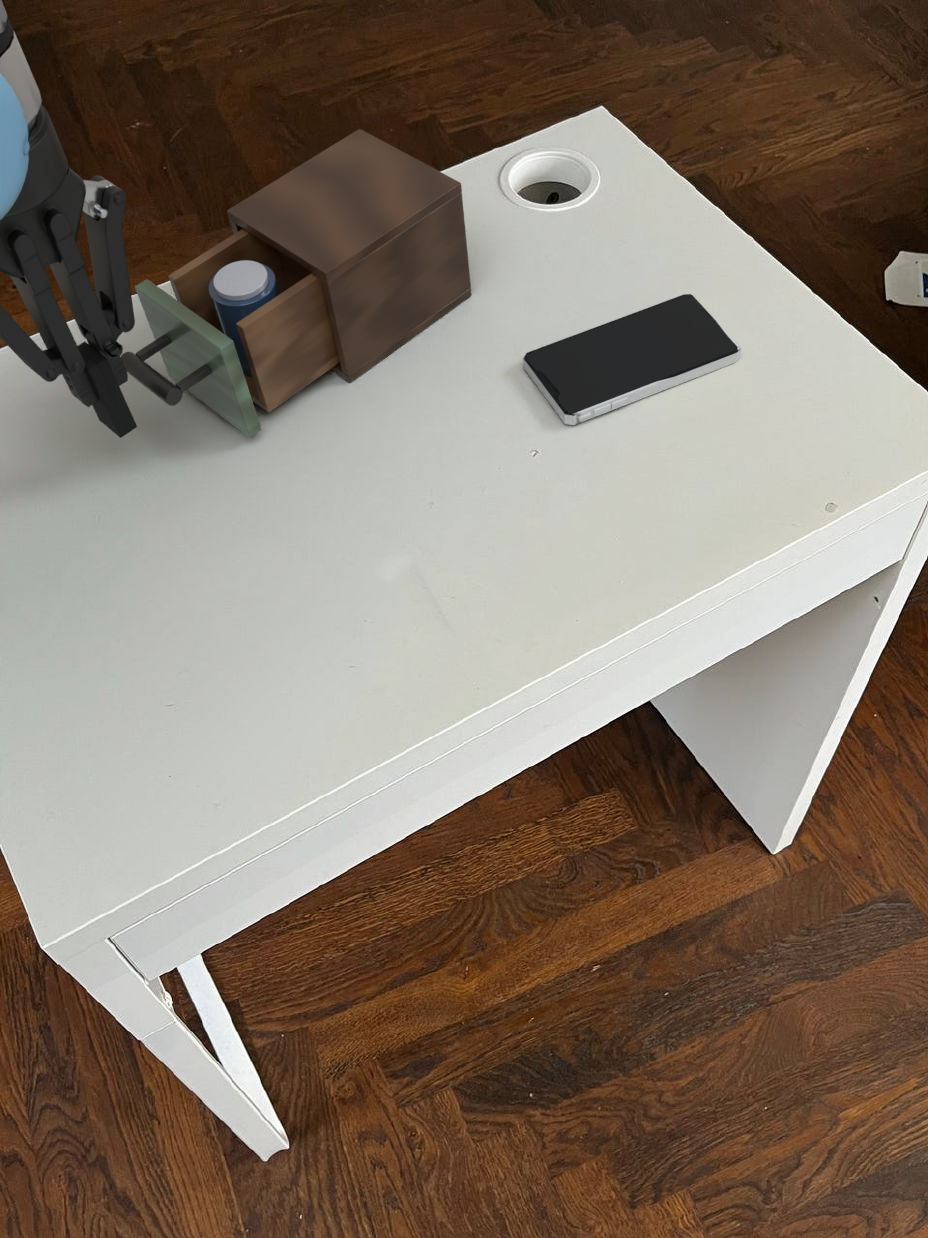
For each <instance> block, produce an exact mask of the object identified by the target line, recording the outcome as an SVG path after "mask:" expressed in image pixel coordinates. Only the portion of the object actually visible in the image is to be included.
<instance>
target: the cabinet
mask: <svg viewBox="0 0 928 1238" xmlns="http://www.w3.org/2000/svg"><path fill="white" fill-rule="evenodd" d="M462 191H463V189H462V182H460V181H458V180H456V179H454V178H453V177H451V176H449V175H447V174H445V173H443V172H441V171H439V170H437V169H436V168H435V167H432V166H430V165H428V164H426V163H425V162H423V161H421V160H419V159H417V158H415V157H413V156H411V155H410V154H408V153H406V152H404V151H402V150H400V149H399V148H396V147H395V146H392V145H391V144H389V143H387V142H385V141H384V140H381V138H378V137H376V136H374V135H372V134H370V133H369V132H366V131H365V130H363V129H360V128H358V129H357V130H355V131H353V132H352V133H350V134H349V135H347V136H346V137H344V138H342V139H341V140H339V141H337V142H336V143H334V144H332V145H331V146H329V147H328V148H326V149H324V150H322V151H321V152H319V153H318V154H316V155H315V156H313V157H311V158H310V159H308V160H306V161H304V163H302V164H300V165H298V166H296V167H294V168H293V169H291V170H290V171H289V172H287V173H286V174H284V175H282V176H281V177H279V178H277V179H276V180H274V181H272V182H271V183H269V184H268V185H266V186H264V187H263V188H261V189H260V190H258V191H257V192H255V193H253V194H251V195H250V196H248V197H247V198H245V199H243V200H242V201H240V202H239V203H237V204H235V205H234V206H231V207H230V208H229V209H227V210H226V214H227V216H228V220H229V223H230V226H231V227H230V228H231V230H232V233H233V234H232V235H234V234H235V233H237V232H239V231H240V230H242V229H245V230H247V231H248V232H250V233H251V234H253V235H254V236H256V237H257V238H259V239H261V240H262V241H264V242H265V243H267V244H268V245H270V246H272V247H273V248H275V249H276V250H278V251H279V252H281V253H283V254H284V255H286V256H287V257H289V258H290V259H292V260H293V261H295V262H297V263H298V264H300V265H301V266H303V267H304V268H306V269H308V270H309V271H311V272H312V273H314V274H315V275H317V276H319V277H320V278H321V281H322V285H323V289H324V294H325V298H326V303H327V307H328V312H329V316H330V320H331V325H332V329H333V334H334V338H335V343H336V347H337V351H338V356H339V360H340V362H339V363H338V364H337V365H335V366H334V367H332V368H331V369H330V370H329V371H331V372H333V373H334V374H335V375H337V376H338V377H339V378H342V380H344V381H346V382H347V383H349V384H352V383H353V382H354V381H356V380H358V379H359V378H360V377H361V376H362V375H364V374H365V373H366V372H368V371H369V370H371V369H372V368H373V367H375V366H377V365H378V364H380V362H382V361H383V360H385V359H386V358H388V356H390V355H392V354H393V353H395V352H396V351H397V350H398V349H400V348H401V347H403V346H404V345H406V344H407V343H408V342H410V341H411V340H412V339H414V338H415V337H416V336H418V335H419V334H421V333H423V331H425V330H426V329H428V328H429V327H430V326H432V325H433V324H434V323H436V322H437V321H439V320H440V319H441V318H443V317H444V316H445V315H447V314H449V312H451V311H452V310H454V309H456V308H457V307H458V306H460V305H461V304H462V303H463V302H465V301H466V300H467V299H469V298H470V297H472V285H471V284H472V283H471V273H470V264H469V254H468V253H469V252H468V245H467V244H468V242H467V234H466V223H465V221H466V220H465V213H464V202H463V193H462Z"/></svg>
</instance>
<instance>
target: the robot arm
mask: <svg viewBox="0 0 928 1238" xmlns="http://www.w3.org/2000/svg"><path fill="white" fill-rule="evenodd" d="M42 102H43V99H42V95H41V91H40V89H39V86H38V84H37V81H36V79H35V77H34V75H33V72H32V70H31V67H30V64H29V63H28V61H27V58H26V55H25V53H24V51H23V49H22V46H21V44H20V42H19V39H18V37H17V34H16V32H15V30H14V28H13V25H12V24H11V21H10V19H9V17H8V13H7V11H6V8H5V6H4V3H3V0H0V273H2V274H4V275H6V276H9V277H10V279H11V280H12V281H13V283H14V285H15V287H16V289H17V291H18V293H19V295H20V297H21V299H22V301H23V304H24V305H25V307H26V309H27V311H28V314H29V315H30V317H31V319H32V321H33V323H34V326H35V328H36V330H37V331H38V333H39V336H40V338H41V340H42V342H43V344H44V345H45V348H46V349H42V348H41V347H40V346H39V345H38V344H37V343H36V342H35V340H33V338H31V336H30V335H28V333H27V332H26V331H25V330H24V329H23V328H22V327H21V326H20V325H19V324H18V322H17V321H16V320H15V319H14V318H13V317H12V316H11V315H10V314H9V313H8V312H7V310H6V309H5V308H4V307H3V306H2V305H1V304H0V340H2V341H3V343H5V344H6V346H7V347H9V349H11V351H12V352H13V353H14V355H16V356H17V357H18V358H19V359H20V360H21V361H22V362H23V363H24V364H25V365H26V366H27V367H28V368H29V369H31V370H32V371H34V372H35V373H36V374H37V375H38V376H39V377H40V378H41V379H43V380H44V381H45V382H47V383H51V382H54V381H56V380H57V379H58V377H59V376H62V377H63V379H64V381H65V383H66V385H67V388H68V389H69V391H70V393H71V395H72V396H73V397H74V398H76V399H77V400H78V401H79V402H80V403H82V404H83V405H84V406H86V407H87V408H90V407H91V406H92V408H93V410H94V412H95V414H96V416H97V418H98V420H99V422H101V423H102V424H103V425H104V426H105V427H107V428H108V429H109V430H110V431H111V432H113V433H114V434H115V435H116V436H117V437H119V439H122V438H124V436H126V435H128V434H129V433H130V432H132V431H133V430H135V429H136V428H138V425H137V423H136V421H135V418H134V416H133V414H132V412H131V410H130V407H129V404H128V403H127V400H126V399H125V396H124V394H123V392H122V389H121V386H122V385H123V384H124V385H125V383H127V382H128V377H129V376H128V375H129V373H127V371H126V369H125V367H124V364H123V362H122V360H121V358H120V357H121V355H122V354H123V353H124V352H123V351H124V346H123V345H122V344H121V343H119V342H118V339H119V337H120V336H121V335H122V334H123V333H129V332H131V331H133V329H134V327H135V325H136V319H135V313H134V311H135V310H134V305H133V297H132V289H131V282H130V276H129V267H128V261H127V254H126V246H125V239H124V231H123V224H124V223H123V222H124V217H125V212H126V206H127V200H128V199H127V198H128V197H127V194H126V193H127V192H125V191H124V190H123V189H121V188H120V187H118V186H117V185H115V184H113V183H112V182H111V181H110V180H108V179H106V178H105V177H103V176H102V175H94V176H92V177H91V179H90V180H87V179H82V177H81V176H80V175H79V174H78V173H76V172H75V171H74V170H73V169H72V168H71V167H70V166H69V163H68V158H67V156H66V154H65V151H64V148H63V146H62V144H61V141H60V139H59V136H58V133H57V131H56V129H55V127H54V124H53V121H52V119H51V116H50V114H49V112H48V110H47V108H46V107H45V106H44V105H43V104H42ZM83 212H84V222H85V223H84V225H85V229H86V235H87V241H88V247H89V248H88V249H89V254H90V261H91V267H92V274H93V280H94V285H95V289H94V287H93V285H92V283H91V282H92V281H91V280H90V278H89V276H88V273H87V271H86V269H85V266H86V261H85V260H84V257H83V255H82V252H81V250H80V248H79V246H78V243H77V241H78V236H79V230H80V225H81V221H82V216H83ZM48 267H50V270H51V272H52V274H53V276H54V278H55V280H56V283H57V284H58V287H59V289H60V291H61V293H62V295H63V298H64V300H65V302H66V304H67V306H68V308H69V310H70V312H71V315H72V317H73V319H74V321H75V323H76V326H77V328H78V330H79V332H80V334H81V336H82V337H83V338H84V339H85V340H86V341H83V342H81V343H80V344H77V342H76V340H75V338H74V336H73V334H72V332H71V329H70V327H69V325H68V323H67V320H66V319H65V316H64V314H63V312H62V310H61V308H60V305H59V303H58V301H57V299H56V297H55V295H54V292H53V291H52V289H51V287H52V282H51V280H50V278H49V277H48V274H47V272H46V269H47V268H48Z"/></svg>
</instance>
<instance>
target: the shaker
mask: <svg viewBox="0 0 928 1238" xmlns="http://www.w3.org/2000/svg"><path fill="white" fill-rule="evenodd" d="M208 290H209V294H210V297H211V300H212V303H213V307H214V310H215V313H216V316H217V319H218V322H219V325H220V328H221V331H222V333H223V334H225V335H226V336H227V337H229V338H230V339H232V340H233V342H234V345H235V348H236V351H237V354H238V358H239V361H240V364H241V367H242V370H243V373H244V375H245V376H248V377H252V373H251V370H250V367H249V364H248V361H247V357H246V354H245V351H244V348H243V345H242V341H241V338H240V335H239V332H238V329H237V325H236V323H238V322H239V321H241V320H242V319H244V318H245V317H247V316H248V315H250V314H251V313H253V312H254V311H256V310H257V309H259V308H260V307H262V306H263V305H265V304H266V303H268V302H269V301H271V300H272V299H274V298H275V297H277V296H278V295H280V292H279V288H278V284H277V280H276V276H275V274H274V272H273V271H272V270H271V269H270V268H269V267H268V266H266V265H264V264H262V263H258V262H255V261H249V260H243V261H237V262H233V263H230V264H228V265H226V266H224V267H223V268H221V269H220V270H219V271H218V272H217V273H216V274H215V275H214V277H213V278H212V279H211V281H210V283H209V289H208Z"/></svg>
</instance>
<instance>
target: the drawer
mask: <svg viewBox="0 0 928 1238" xmlns="http://www.w3.org/2000/svg"><path fill="white" fill-rule="evenodd" d="M243 260H249V261H255V262H258V263H262V264H264V265H266V266H268V267H269V268H270V269H271V270H272V271H273V272H274V274H275V276H276V280H277V284H278V288H279V292H280V295H278V296H277V297H275V298H274V299H272V300H271V301H269V302H268V303H266V304H265V305H263V306H262V307H260V308H259V309H257V310H256V311H254V312H253V313H251V314H250V315H248V316H247V317H245V318H244V319H242V320H241V321H239V322H238V323H236V325H237V329H238V332H239V335H240V338H241V341H242V345H243V348H244V351H245V354H246V357H247V361H248V364H249V367H250V370H251V373H252V377H248V376H245V375H244V373H243V370H242V367H241V364H240V361H239V358H238V354H237V351H236V348H235V345H234V342H233V340H232V339H230V338H229V337H227V336H226V335H225V334H223V333H222V331H221V328H220V325H219V322H218V319H217V316H216V313H215V310H214V307H213V303H212V300H211V297H210V294H209V290H208V289H209V283H210V281H211V279H212V278H213V277H214V275H215V274H216V273H217V272H218V271H219V270H220V269H221V268H223V267H224V266H226V265H228V264H230V263H233V262H237V261H243ZM167 277H168V280H169V283H170V285H171V288H172V291H173V294H174V296H175V298H174V297H173V296H171V294H169V293H168V292H166V291H164V290H163V289H162V288H161V287H160V286H158V285H156V284H155V283H153V281H151V280H149V279H144V280H143V281H141V282H139V283H138V284H136V285H135V286H134V290H135V293H136V295H137V297H138V300H139V302H140V305H141V307H142V310H143V312H144V315H145V318H146V321H147V322H148V325H149V327H150V330H151V333H152V335H153V338H154V340H153V341H152V342H150V343H148V344H147V345H145V346H144V347H142V348H141V349H139V350H137V351H136V352H135V353H134V352H133V351H125V352H122V354H121V355H120V358H121V360H122V362H123V364H124V367H125V369H126V371H127V374H128V375H129V376H131V377H132V378H134V379H135V380H136V381H137V382H138V383H140V384H141V385H143V386H144V387H145V388H146V389H148V390H149V391H150V392H151V393H152V394H154V395H155V396H156V397H157V398H159V400H161V401H163V402H164V403H165V404H166V405H167V406H171V407H173V406H177V405H178V404H180V402H181V401H182V399H183V393H185V392H186V391H188V392H189V393H191V394H192V395H193V396H195V397H196V398H197V399H198V400H199V401H201V402H202V403H204V404H205V405H206V406H207V407H208V408H210V409H212V411H214V412H215V413H217V414H218V415H219V416H220V417H222V418H223V419H224V420H226V421H227V422H228V423H229V424H230V425H232V426H233V427H235V428H236V429H237V430H239V431H240V432H241V433H242V434H244V435H245V436H246V437H248V438H249V439H250V438H252V437H253V436H255V435H257V433H259V432H260V431H262V427H261V424H260V421H259V418H258V414H257V412H256V408H255V405H258V406H259V407H260V408H261V409H262V410H263V411H266V412H267V413H270V412H272V411H274V409H276V408H277V407H279V406H280V405H282V404H284V403H285V402H286V401H288V399H290V398H292V397H293V396H295V395H297V393H299V392H300V391H302V390H303V389H305V388H306V387H307V386H308V385H310V384H312V383H313V382H314V381H316V380H317V379H318V378H320V377H321V376H323V375H324V374H325V373H328V371H331V370H330V369H331V368H332V367H334V366H335V365H337V364H338V363H339V362H340V360H339V356H338V351H337V347H336V343H335V338H334V334H333V329H332V325H331V320H330V316H329V312H328V307H327V303H326V298H325V294H324V289H323V285H322V281H321V278H320V277H319V276H317V275H315V274H314V273H312V272H311V271H309V270H308V269H306V268H304V267H303V266H301V265H300V264H298V263H297V262H295V261H293V260H292V259H290V258H289V257H287V256H286V255H284V254H283V253H281V252H279V251H278V250H276V249H275V248H273V247H272V246H270V245H268V244H267V243H265V242H264V241H262V240H261V239H259V238H257V237H256V236H254V235H253V234H251V233H250V232H248V231H247V230H245V229H242V230H240V231H239V232H237V233H235V234H232V235H230V236H229V237H227V238H226V239H224V240H223V241H221V242H219V243H218V244H216V245H215V246H213V247H211V248H210V249H208V250H206V251H205V252H204V253H202V254H200V255H199V256H197V257H196V258H194V259H192V260H191V261H189V262H187V263H186V264H185V265H183V266H181V267H180V268H178V269H176V270H174V271H173V272H172V273H170V274H169V275H168V276H167ZM158 352H159V353H160V355H161V358H162V362H163V364H164V366H165V369H166V371H167V373H168V376H169V378H171V379H173V380H174V381H175V382H176V383H175V384H174V383H173V382H172V381H170V380H169V379H168V378H166V377H165V376H164V375H162V374H161V372H159V371H157V370H156V369H155V368H154V367H152V366H151V365H150V364H148V362H146V361H147V360H148V359H149V358H151V357H153V356H154V355H155V354H157V353H158ZM254 403H255V405H254Z"/></svg>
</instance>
